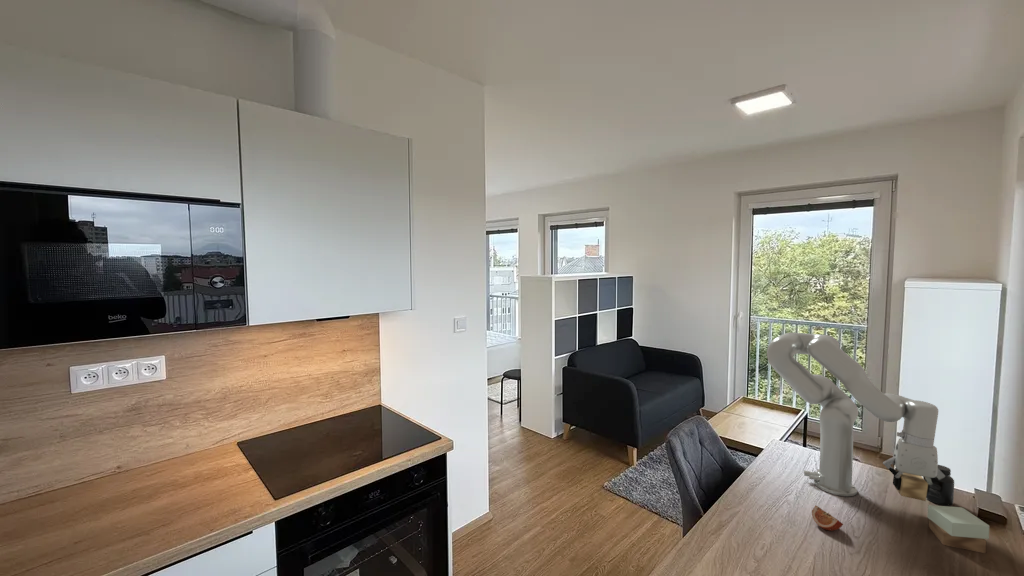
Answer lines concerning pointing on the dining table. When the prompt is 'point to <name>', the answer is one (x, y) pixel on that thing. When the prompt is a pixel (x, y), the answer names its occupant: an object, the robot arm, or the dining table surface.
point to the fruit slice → (825, 519)
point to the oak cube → (913, 486)
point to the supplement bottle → (942, 489)
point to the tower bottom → (958, 539)
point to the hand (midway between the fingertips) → (910, 490)
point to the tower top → (958, 522)
